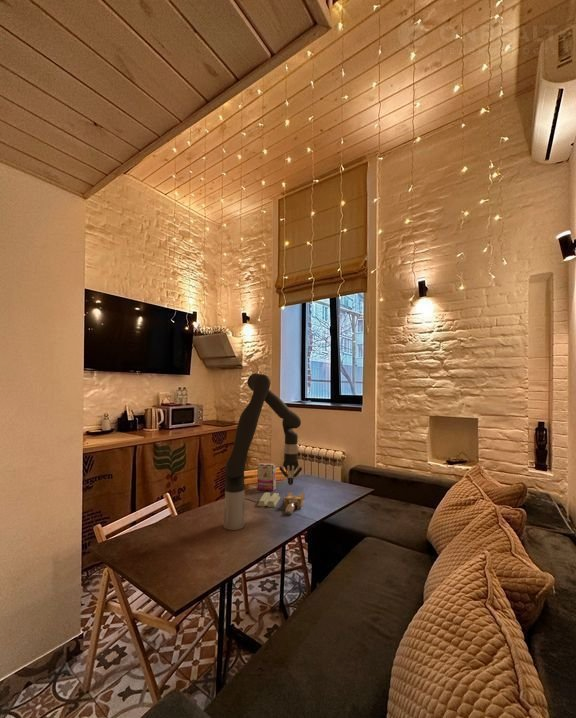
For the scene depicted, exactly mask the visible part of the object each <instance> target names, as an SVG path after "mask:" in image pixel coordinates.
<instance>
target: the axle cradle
mask: <svg viewBox="0 0 576 718" xmlns="http://www.w3.org/2000/svg"><path fill="white" fill-rule="evenodd" d="M280 499H281V496H280V494H279V493H278V492H274V493H273V494H271V492H264V493H263V495H262V496H261V497H260V498H259V501H258V503H257V507H265V506H268V507H267V508H269V507H270V508H276V506H277V505H278V503H279V501H280Z"/></svg>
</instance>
